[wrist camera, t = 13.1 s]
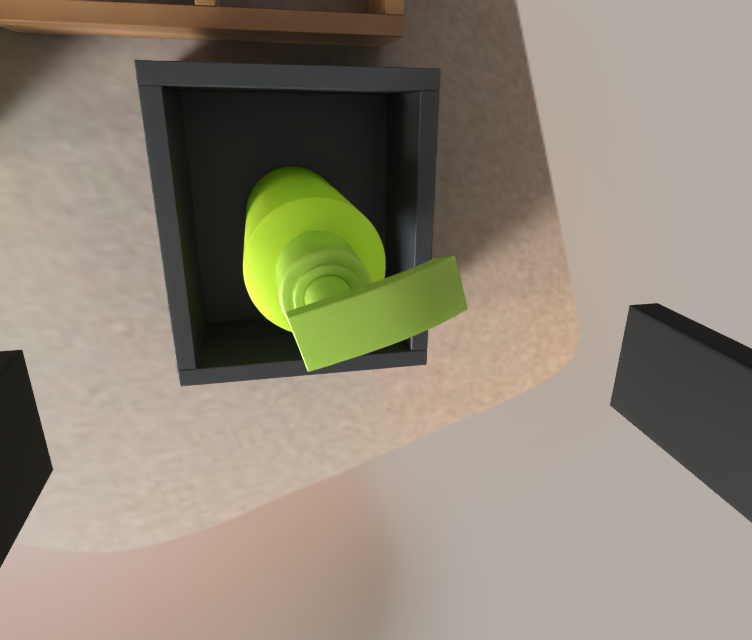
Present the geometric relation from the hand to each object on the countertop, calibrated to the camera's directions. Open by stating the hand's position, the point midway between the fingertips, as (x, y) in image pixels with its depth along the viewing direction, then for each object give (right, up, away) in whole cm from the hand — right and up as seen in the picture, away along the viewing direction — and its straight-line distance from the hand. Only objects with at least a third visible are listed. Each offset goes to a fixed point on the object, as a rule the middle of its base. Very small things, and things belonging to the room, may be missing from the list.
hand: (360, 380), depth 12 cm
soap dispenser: (-4, +8, +22) cm, 24 cm away
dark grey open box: (-5, +9, +23) cm, 25 cm away
